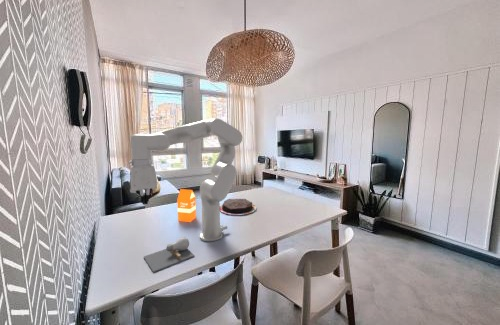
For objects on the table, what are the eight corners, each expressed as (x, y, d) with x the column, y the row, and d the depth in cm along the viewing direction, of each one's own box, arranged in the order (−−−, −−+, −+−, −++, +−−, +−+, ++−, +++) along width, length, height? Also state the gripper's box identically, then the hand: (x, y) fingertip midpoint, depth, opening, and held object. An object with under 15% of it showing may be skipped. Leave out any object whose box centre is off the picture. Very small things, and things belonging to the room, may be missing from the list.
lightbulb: (170, 252, 95) (192, 244, 102) (166, 239, 98) (188, 233, 105) (166, 258, 98) (188, 250, 106) (162, 246, 101) (184, 239, 108)
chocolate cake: (256, 216, 147) (256, 207, 146) (215, 216, 147) (215, 207, 147) (256, 203, 175) (256, 195, 174) (221, 203, 175) (221, 195, 174)
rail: (170, 248, 106) (169, 243, 106) (180, 259, 96) (180, 255, 96) (167, 248, 105) (167, 244, 105) (178, 260, 96) (178, 256, 95)
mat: (181, 244, 110) (181, 243, 109) (194, 256, 99) (194, 255, 99) (143, 257, 98) (143, 256, 98) (153, 272, 87) (153, 271, 87)
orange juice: (190, 222, 137) (189, 191, 134) (178, 220, 139) (176, 190, 136) (196, 217, 145) (195, 188, 142) (184, 216, 146) (182, 187, 144)
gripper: (124, 165, 86) (127, 209, 88) (162, 162, 95) (164, 202, 98) (120, 163, 91) (124, 205, 94) (157, 160, 101) (159, 198, 103)
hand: (144, 203), depth 96 cm, fingers closed
